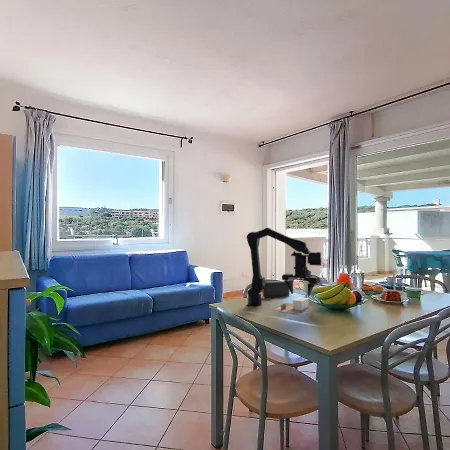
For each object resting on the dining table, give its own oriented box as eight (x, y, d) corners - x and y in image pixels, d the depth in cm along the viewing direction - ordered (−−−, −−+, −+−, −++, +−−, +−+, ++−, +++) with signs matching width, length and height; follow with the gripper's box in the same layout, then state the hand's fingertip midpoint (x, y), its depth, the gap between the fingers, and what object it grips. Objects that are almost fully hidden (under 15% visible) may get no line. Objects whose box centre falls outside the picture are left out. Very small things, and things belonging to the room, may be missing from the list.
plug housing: (292, 308, 160) (292, 299, 160) (301, 304, 168) (301, 296, 168) (302, 310, 157) (302, 301, 157) (310, 306, 165) (310, 297, 165)
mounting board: (270, 311, 158) (270, 305, 158) (286, 304, 172) (286, 298, 172) (297, 316, 149) (297, 309, 149) (313, 308, 163) (313, 302, 163)
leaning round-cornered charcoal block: (287, 295, 193) (287, 280, 193) (289, 297, 189) (289, 281, 189) (261, 296, 191) (261, 281, 191) (263, 298, 186) (263, 282, 186)
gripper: (324, 264, 162) (324, 295, 162) (291, 262, 174) (290, 290, 174) (315, 267, 153) (315, 299, 154) (281, 264, 165) (281, 293, 165)
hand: (300, 295), depth 162 cm, fingers open, 9 cm apart
